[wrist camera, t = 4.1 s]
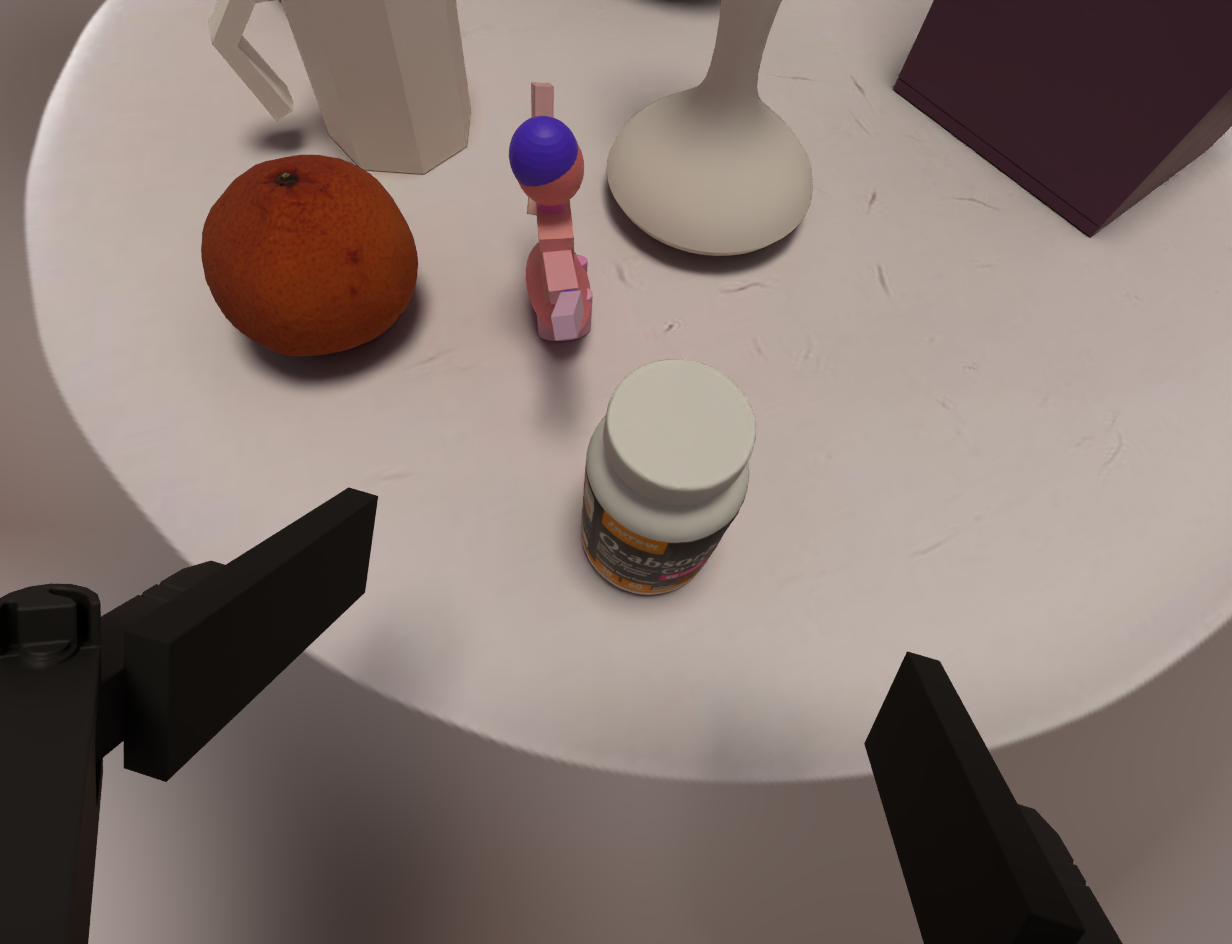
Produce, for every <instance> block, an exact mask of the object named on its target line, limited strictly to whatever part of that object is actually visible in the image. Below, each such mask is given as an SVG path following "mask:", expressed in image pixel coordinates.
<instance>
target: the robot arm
mask: <svg viewBox="0 0 1232 944" xmlns="http://www.w3.org/2000/svg"><path fill="white" fill-rule="evenodd" d="M377 501H378V496H376V495H373V494H369V493H366V492H362V491H359V490H356V489H352V488H347V489H346V490H344V491H342V492H341V493H339V494H338V495H336V496H335V497H333V498H331V499H330V500H328V501H327V502H325V503H323V504H322V505H320V506H319V507H317V508H315V509H314V510H312V511H311V512H309V513H307V514H306V515H304V516H303V517H301V518H300V519H298V520H296V521H295V522H293V523H292V524H290V525H288V526H287V527H285V528H284V529H282V530H280V531H279V532H277V533H276V534H274V535H272V536H271V537H269V538H268V539H266V540H265V541H263V542H261V543H260V544H258V545H257V546H255V547H253V548H252V549H250V550H249V551H247V552H245V553H244V554H242V555H241V556H239V557H238V558H236V559H234V560H233V561H231V562H230V563H228V564H226V565H224V564H220V563H217V562H214V561H208V562H205V563H201V564H198V565H194V566H191V567H187V568H184V569H182V570H180V571H178V572H177V573H175V574H174V575H171V576H170V577H168V578H166V579H165V580H163V581H161V583H160V585H157V584H156V585H154V586H153V587H151V588H149V589H148V590H146V591H144V592H143V594H142V595H141V596H140V595H137V596H136V597H134V598H132V599H130V600H129V601H127V602H125V603H124V604H122V605H121V606H118V607H117V608H115V609H113V610H112V611H110V612H108V613H107V614H105V615H103V616H101V611H100V600H99V597H98V595H97V594H96V593H95V592H93V591H91V590H90V589H88V588H86V587H81V586H77V585H73V584H45V585H38V586H32V587H27V588H24V589H21V590H17V591H14V592H11V593H9V594H7V595H5V596H3V597H1V598H0V944H88V938H89V926H90V915H91V903H92V892H93V881H94V869H95V858H96V845H97V835H98V823H99V822H98V821H99V812H100V800H101V789H102V777H103V757H104V756H105V755H107V754H108V753H109V752H110V751H112V750H113V749H114V748H115V747H116V746H118V745H119V744H120V743H121V742H123V741H124V768H125V769H128V770H131V771H134V772H138V773H140V774H143V775H147V776H150V777H153V778H156V779H159V780H162V781H165V782H167V781H168V780H169V779H170V778H171V777H172V776H173V775H174V774H175V773H176V772H177V771H178V770H179V769H180V768H181V767H183V765H185V764H186V763H187V762H188V761H189V760H190V759H191V758H192V757H193V756H194V755H195V754H196V753H197V752H198V751H199V750H200V749H201V748H202V747H203V746H205V745H206V743H208V742H209V741H210V740H211V739H212V738H213V737H214V736H215V735H216V734H217V733H218V732H219V731H220V730H221V729H222V728H223V727H224V726H225V725H227V723H229V722H230V721H231V720H232V719H233V718H234V717H235V716H236V715H237V714H238V713H239V712H240V711H241V710H242V709H243V708H244V707H245V706H246V705H247V704H249V703H250V702H251V701H252V700H253V699H254V698H255V697H256V696H257V695H258V694H259V693H260V692H261V691H262V690H263V689H264V688H265V687H266V686H267V685H268V684H270V683H271V682H272V681H273V680H274V679H275V678H276V677H277V676H278V675H279V674H280V673H281V672H282V671H283V670H284V669H285V668H286V667H287V666H288V665H289V664H290V663H291V662H293V661H294V660H295V659H296V658H297V657H298V656H299V655H300V654H301V653H302V652H303V651H304V650H305V649H306V648H307V647H308V646H309V645H310V644H311V643H312V642H314V641H315V640H316V639H317V638H318V637H319V636H320V635H321V634H322V633H323V632H324V631H325V630H326V629H327V628H328V627H329V626H330V625H331V624H332V623H333V622H334V621H336V620H337V619H338V618H339V617H340V616H341V615H342V614H343V613H344V612H345V611H346V610H347V609H348V608H349V607H350V606H351V605H352V604H353V603H354V602H355V601H356V600H358V599H359V598H360V597H361V596H362V595H363V594H364V593H365V588H366V581H367V574H368V567H369V559H370V552H371V545H372V537H373V530H374V523H375V515H376V508H377ZM100 616H101V617H100ZM864 744H865V747H866V751H867V754H868V757H869V761H870V764H871V767H872V771H873V774H874V778H875V781H876V784H877V788H878V791H879V794H880V798H881V801H882V804H883V808H884V811H885V814H886V818H887V821H888V824H889V828H890V831H891V835H892V838H893V841H894V845H895V848H896V851H897V855H898V858H899V861H900V865H901V868H902V871H903V875H904V878H905V882H906V885H907V888H908V891H909V895H910V898H911V902H912V905H913V908H914V912H915V915H916V918H917V922H918V925H919V928H920V932H921V935H922V939H923V942H924V944H1122V942H1121V940H1120V939H1119V937H1118V935H1117V934H1116V932H1115V930H1114V928H1113V927H1112V925H1111V923H1110V922H1109V920H1108V918H1107V917H1106V915H1105V913H1104V912H1103V910H1102V908H1101V906H1100V905H1099V903H1098V901H1097V899H1096V898H1095V896H1094V895H1093V893H1092V891H1091V889H1090V888H1089V887H1088V886H1086V884H1085V883H1086V881H1085V879H1084V877H1083V876H1082V874H1081V872H1080V870H1079V869H1078V867H1077V866H1076V865H1074V864H1073V859H1072V857H1071V855H1070V853H1069V852H1068V850H1067V848H1066V847H1065V845H1064V843H1063V842H1062V840H1061V838H1060V836H1059V835H1058V834H1057V832H1056V831H1055V830H1054V829H1053V828H1052V827H1051V826H1050V825H1049V824H1048V823H1047V822H1046V821H1045V820H1044V819H1043V818H1042V817H1041V816H1040V814H1039V813H1038V812H1037V811H1036V810H1035V809H1032V808H1029V807H1025V806H1023V805H1019V804H1017V802H1016V800H1015V799H1014V797H1013V795H1012V793H1011V791H1010V789H1009V788H1008V786H1007V784H1006V782H1005V780H1004V778H1003V777H1002V775H1001V773H1000V771H999V769H998V767H997V765H996V764H995V762H994V760H993V758H992V756H991V754H990V753H989V751H988V749H987V747H986V745H985V743H984V742H983V740H982V738H981V736H980V734H979V732H978V731H977V729H976V727H975V725H974V723H973V721H972V719H971V718H970V716H969V714H968V712H967V710H966V708H965V707H964V705H963V703H962V701H961V699H960V697H959V696H958V694H957V692H956V690H955V688H954V686H953V685H952V683H951V681H950V679H949V677H948V675H947V674H946V672H945V670H944V668H943V666H942V664H941V662H940V661H938V660H935V659H931V658H928V657H925V656H921V655H918V654H914V653H911V652H908V651H907V653H906V655H905V657H904V659H903V662H902V664H901V666H900V668H899V670H898V672H897V674H896V677H895V679H894V681H893V683H892V685H891V687H890V690H889V692H888V694H887V696H886V698H885V700H884V702H883V705H882V707H881V709H880V711H879V713H878V715H877V718H876V720H875V722H874V724H873V726H872V728H871V730H870V733H869V735H868V737H867V739H866V741H865V743H864Z"/></svg>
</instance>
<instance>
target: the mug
mask: <svg viewBox="0 0 1232 944" xmlns="http://www.w3.org/2000/svg"><path fill="white" fill-rule="evenodd" d="M266 1H272V0H218V1H217V3H216V6H215V8H214V10H213V13H212V15H211V17H210V20H209V28H210V34H211V40H212V44H213V46H214V47H215V48H216V49H217V50H218V52H219V53H220V54H221V55H222V56H223V58H224V59H225V60H226V61H227V62H228V64H229V65H230V66H231V67H232V68H233V70H234V71H235V72H236V73H237V74H238V76H239V77H240V78H241V79H242V80H243V82H244V83H245V84H246V85H247V86H248V88H249V89H250V90H251V91H252V92H253V94H254V95H255V96H256V97H257V98H258V99H259V101H260V102H261V103H262V104H263V105H264V107H265V108H266V109H267V110H268V111H269V113H270V114H271V115H272V116H273V117H274V119H275V120H276V121H278V120H279V119H281V118H282V117H284V116H285V115H287V114H288V113H290V112H291V111H292V110H293V100H292V98H291V95H290V93H289V90H288V88H287V86H286V84H285V83H284V82H283V81H282V80H281V79H280V78H279V77H278V75H277V74H276V73H275V72H274V71H273V70H272V69H271V67H270V66H269V65H268V64H267V63H266V62H265V61H264V59H263V58H262V57H261V56H260V55H259V54H258V53H257V51H256V50H255V49H254V48H253V47H252V46H251V45H250V43H249V42H248V41H247V40H246V39H245V38H244V37H243V36H242V34H243V32H244V29H245V27H246V24H247V22H248V19H249V17H250V14H251V12H252V10H253V7H254V5H255V3H260V2H266ZM281 2H282V4H283V7H284V10H285V13H286V15H287V18H288V21H289V24H290V27H291V29H292V32H293V35H294V38H295V41H296V43H297V46H298V49H299V52H300V54H301V57H302V60H303V63H304V66H305V68H306V71H307V74H308V77H309V80H310V82H311V85H312V88H313V91H314V94H315V96H316V99H317V102H318V105H319V107H320V110H321V113H322V116H323V119H324V121H325V124H326V127H327V130H328V133H329V135H330V136H331V138H332V139H333V140H334V141H335V142H336V143H337V144H338V145H339V146H340V147H341V148H342V149H343V150H344V151H345V152H346V153H347V155H348V156H349V157H350V158H351V159H352V160H353V161H354V162H355V163H356V164H357V165H358V166H359V167H360V168H362V169H364V170H375V171H388V172H402V173H416V174H425V173H426V172H428V171H429V170H431V169H432V168H434V167H436V166H437V165H439V164H440V163H442V162H443V161H445V160H446V159H448V158H449V157H451V156H453V155H454V154H456V153H457V152H459V151H460V150H462V149H463V148H465V147H466V146H467V142H468V132H469V123H470V114H471V107H470V100H469V92H468V85H467V78H466V71H465V64H464V56H463V49H462V42H461V35H460V28H459V20H458V13H457V6H456V0H281Z"/></svg>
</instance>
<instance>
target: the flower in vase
mask: <svg viewBox="0 0 1232 944" xmlns="http://www.w3.org/2000/svg"><path fill="white" fill-rule="evenodd" d="M781 1H782V0H721V6H720V18H719V26H718V32H717V38H716V44H715V49H714V53H713V57H712V61H711V65H710V67H709V70H708V72H707V75H706V77H705V79H704V80H703V81H702V83H701V84H700V85H699V86H697V87H695V88H692V89H688V90H685V91H681V92H678V93H675V94H673V95H670V96H667V97H665V98H662V99H660V100H658V101H656V102H654V103H652V104H651V105H649V106H648V107H646V108H644V109H643V110H641V111H640V112H638V113H637V114H636V115H634V116H633V117H632V118H631V119H630V120H629V121H628V122H627V123H626V124H625V125H624V126H623V128H622V129H621V130H620V132H619V134H618V136H617V138H616V139H615V141H614V143H613V145H612V147H611V149H610V152H609V156H608V159H607V178H608V182H609V186H610V189H611V191H612V193H613V195H614V198H615V199H616V201H617V202H618V204H619V205H620V207H621V208H622V210H623V211H624V212H625V213H626V215H627V216H628V217H629V218H630V219H631V220H632V221H633V222H634V223H635V224H636V225H637V226H638V227H639V228H640V229H642V230H643V231H644V232H646V233H647V234H648V235H650V236H651V237H653V238H655V239H657V240H658V241H660V242H662V243H664V244H667V245H669V246H672V247H674V248H677V249H680V250H683V251H687V252H691V253H696V254H701V255H712V256H730V255H738V254H744V253H748V252H753V251H756V250H758V249H761V248H764V247H766V246H768V245H770V244H772V243H774V242H776V241H778V240H780V239H782V238H783V237H784V236H786V235H787V234H789V233H790V232H791V231H792V230H794V229H795V228H796V227H797V226H798V225H799V223H800V222H801V221H802V219H803V218H804V217H805V215H806V213H807V211H808V209H809V206H810V203H811V199H812V189H813V187H812V172H811V165H810V162H809V158H808V156H807V154H806V152H805V150H804V148H803V146H802V145H801V143H800V142H799V140H798V139H797V137H796V136H795V134H794V133H793V131H792V130H791V128H790V127H789V126H788V125H787V124H786V123H785V122H784V121H783V120H782V119H781V118H780V117H779V116H778V115H777V114H776V113H775V112H774V111H773V110H771V109H770V108H769V107H768V106H767V105H766V104H764V103H763V102H762V101H761V100H760V98H759V96H758V91H757V81H758V72H759V68H760V63H761V59H762V54H763V51H764V48H765V44H766V41H767V38H768V34H769V31H770V28H771V26H772V23H773V21H774V18H775V15H776V13H777V10H778V8H779V5H780V3H781Z"/></svg>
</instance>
